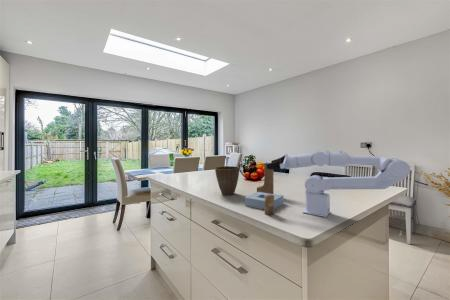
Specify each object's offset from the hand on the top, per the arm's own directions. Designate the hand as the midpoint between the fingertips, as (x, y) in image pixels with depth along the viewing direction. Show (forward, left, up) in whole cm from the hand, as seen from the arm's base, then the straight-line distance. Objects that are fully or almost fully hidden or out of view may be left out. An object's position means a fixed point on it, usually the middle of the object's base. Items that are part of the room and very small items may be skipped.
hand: (269, 164), depth 99 cm
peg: (-5, +11, -20) cm, 23 cm away
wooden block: (+11, -17, -20) cm, 29 cm away
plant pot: (+31, -7, -20) cm, 38 cm away
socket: (+3, 0, -20) cm, 20 cm away
